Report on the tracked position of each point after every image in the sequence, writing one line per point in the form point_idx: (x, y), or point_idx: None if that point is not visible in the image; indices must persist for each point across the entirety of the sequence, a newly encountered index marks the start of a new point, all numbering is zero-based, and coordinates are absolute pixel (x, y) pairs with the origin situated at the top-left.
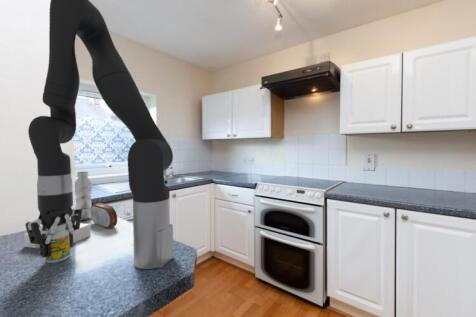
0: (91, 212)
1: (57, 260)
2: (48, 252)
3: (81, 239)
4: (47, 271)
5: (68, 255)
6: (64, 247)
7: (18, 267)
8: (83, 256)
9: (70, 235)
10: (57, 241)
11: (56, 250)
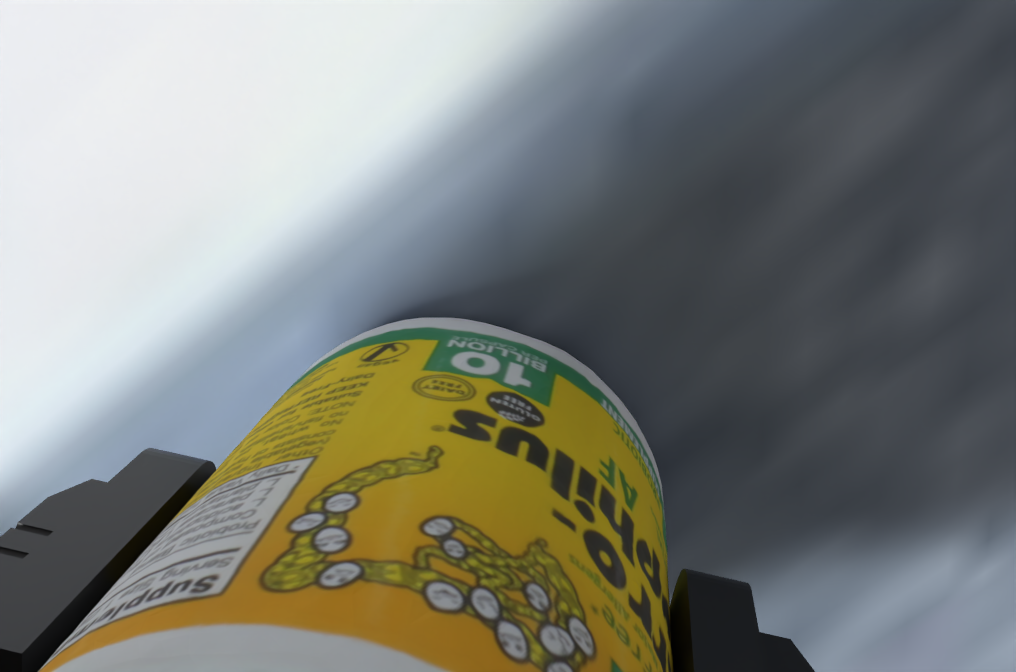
0: None
1: (625, 408)
2: (751, 647)
3: None
4: (985, 327)
5: (411, 326)
6: (465, 440)
7: None
8: (315, 25)
9: (2, 633)
10: None
11: (624, 538)
